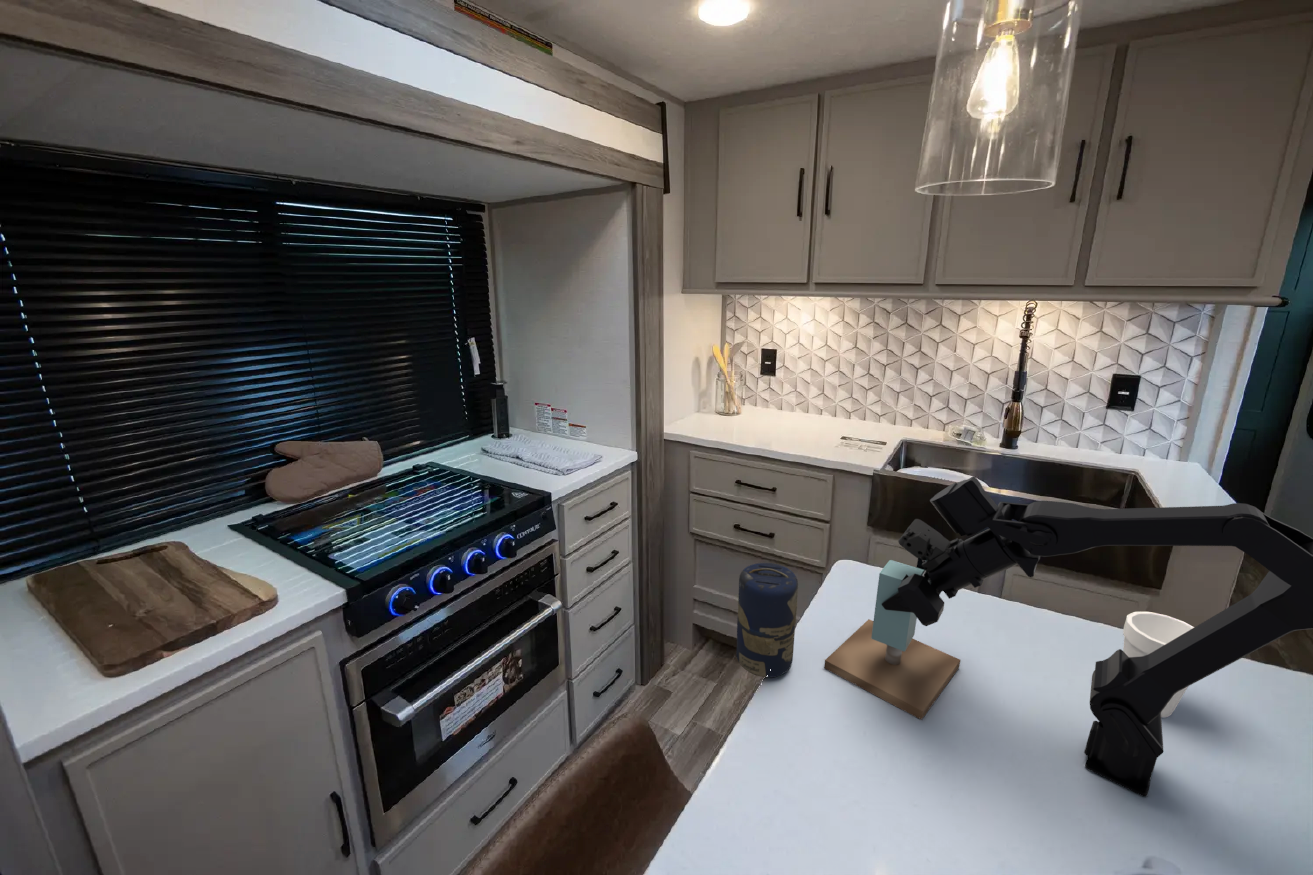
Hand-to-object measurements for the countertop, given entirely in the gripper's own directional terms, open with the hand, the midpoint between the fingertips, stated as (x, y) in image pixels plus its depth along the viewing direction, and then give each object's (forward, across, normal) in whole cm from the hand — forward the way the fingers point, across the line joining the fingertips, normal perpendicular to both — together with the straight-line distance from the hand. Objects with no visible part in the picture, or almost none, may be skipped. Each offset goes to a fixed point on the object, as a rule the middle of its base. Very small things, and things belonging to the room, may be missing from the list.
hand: (889, 598), depth 91 cm
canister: (+21, +10, -2) cm, 24 cm away
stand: (+8, -2, +11) cm, 14 cm away
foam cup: (-15, -18, +34) cm, 41 cm away
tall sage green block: (+4, 0, +6) cm, 7 cm away
